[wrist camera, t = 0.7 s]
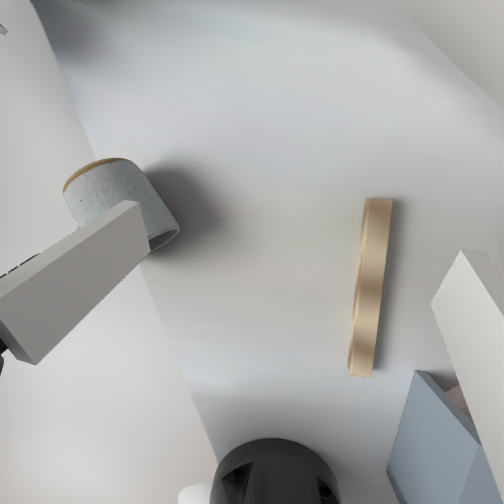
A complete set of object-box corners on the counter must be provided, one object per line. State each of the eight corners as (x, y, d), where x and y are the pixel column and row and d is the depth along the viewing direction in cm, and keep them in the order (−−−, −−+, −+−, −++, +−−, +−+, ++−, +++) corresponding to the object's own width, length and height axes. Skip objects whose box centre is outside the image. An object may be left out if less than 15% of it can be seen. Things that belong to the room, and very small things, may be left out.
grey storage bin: (512, 497, 30) (613, 620, 21) (386, 471, 31) (431, 579, 22) (552, 395, 28) (683, 484, 19) (415, 370, 29) (478, 444, 20)
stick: (365, 366, 30) (371, 377, 28) (346, 364, 30) (351, 375, 28) (384, 199, 27) (393, 199, 25) (363, 199, 27) (370, 198, 25)
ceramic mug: (146, 158, 28) (96, 141, 20) (192, 225, 28) (160, 233, 21) (73, 216, 30) (2, 220, 22) (117, 277, 30) (64, 301, 23)
